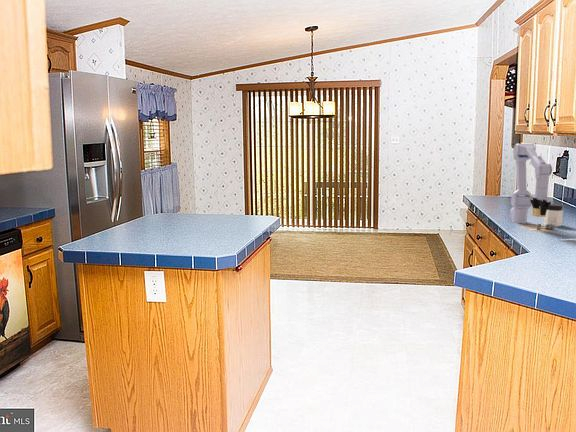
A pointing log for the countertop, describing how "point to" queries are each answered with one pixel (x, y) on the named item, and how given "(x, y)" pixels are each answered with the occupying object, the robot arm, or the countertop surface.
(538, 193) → the robot arm
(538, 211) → the brass gear
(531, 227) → the gear board
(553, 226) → the gear
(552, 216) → the jar
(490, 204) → the countertop surface
